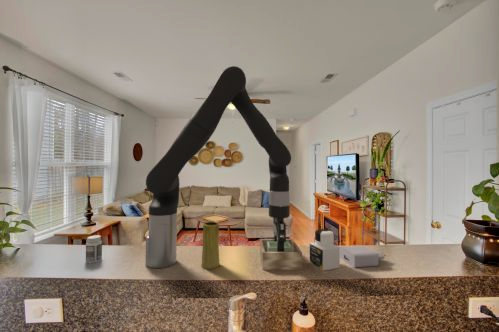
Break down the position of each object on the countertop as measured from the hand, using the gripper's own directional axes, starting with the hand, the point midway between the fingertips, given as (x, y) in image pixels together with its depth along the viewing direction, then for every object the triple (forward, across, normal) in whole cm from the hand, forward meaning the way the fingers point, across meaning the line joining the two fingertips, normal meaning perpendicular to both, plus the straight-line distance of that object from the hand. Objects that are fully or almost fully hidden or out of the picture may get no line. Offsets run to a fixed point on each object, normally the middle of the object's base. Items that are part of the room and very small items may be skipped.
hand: (278, 248), depth 81 cm
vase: (+5, +4, -24) cm, 25 cm away
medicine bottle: (+4, +4, +15) cm, 16 cm away
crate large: (+4, 0, 0) cm, 4 cm away
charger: (+5, +1, +31) cm, 32 cm away
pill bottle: (+5, 0, -66) cm, 66 cm away
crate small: (+4, 0, 0) cm, 4 cm away
